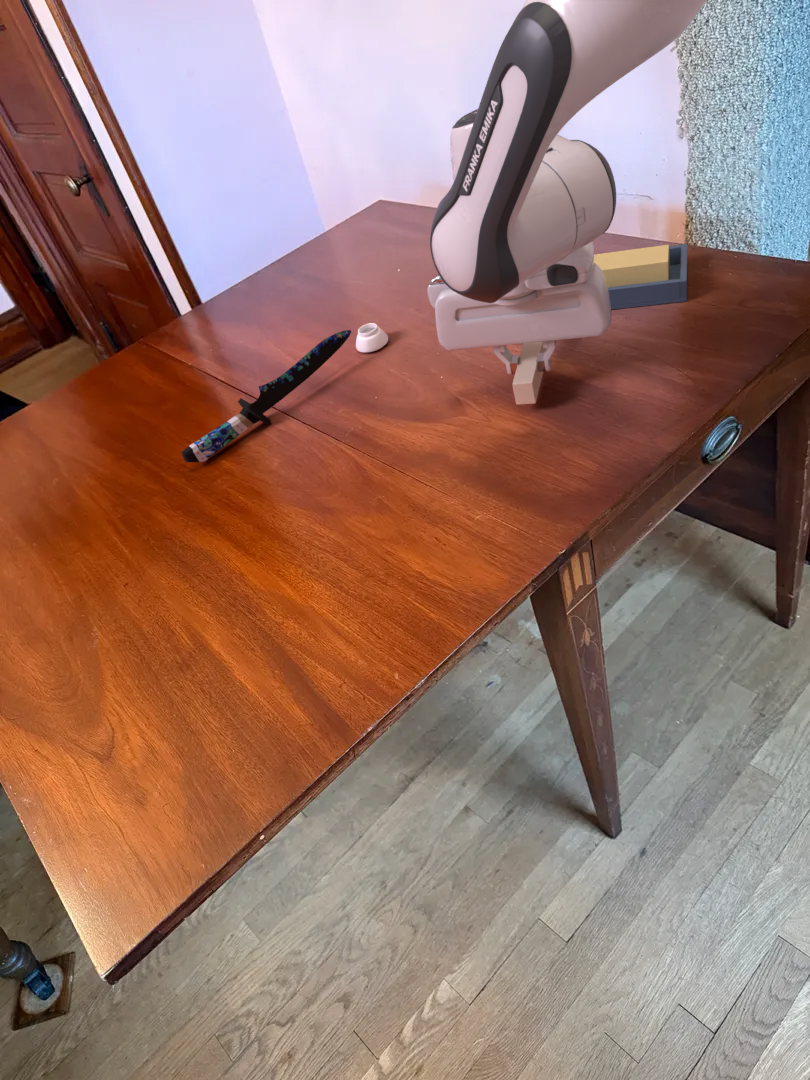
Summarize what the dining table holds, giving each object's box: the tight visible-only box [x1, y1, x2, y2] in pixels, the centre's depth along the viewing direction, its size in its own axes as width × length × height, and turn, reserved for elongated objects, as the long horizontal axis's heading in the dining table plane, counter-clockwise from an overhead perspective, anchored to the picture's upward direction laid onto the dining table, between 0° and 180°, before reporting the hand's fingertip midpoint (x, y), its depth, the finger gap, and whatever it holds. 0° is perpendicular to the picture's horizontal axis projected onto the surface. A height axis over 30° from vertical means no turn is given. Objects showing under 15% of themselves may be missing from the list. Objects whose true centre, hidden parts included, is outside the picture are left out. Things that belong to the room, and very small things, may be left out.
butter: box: [594, 244, 670, 287], centre depth 104 cm, size 11×5×4 cm, turn 74°
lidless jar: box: [355, 322, 389, 353], centre depth 113 cm, size 5×3×5 cm
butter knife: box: [511, 342, 546, 405], centre depth 96 cm, size 23×2×3 cm, turn 164°
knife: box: [180, 329, 352, 463], centre depth 105 cm, size 31×3×4 cm, turn 126°
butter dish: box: [608, 243, 688, 311], centre depth 105 cm, size 16×11×3 cm
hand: (530, 370), depth 92 cm, fingers closed on butter knife, 2 cm apart
